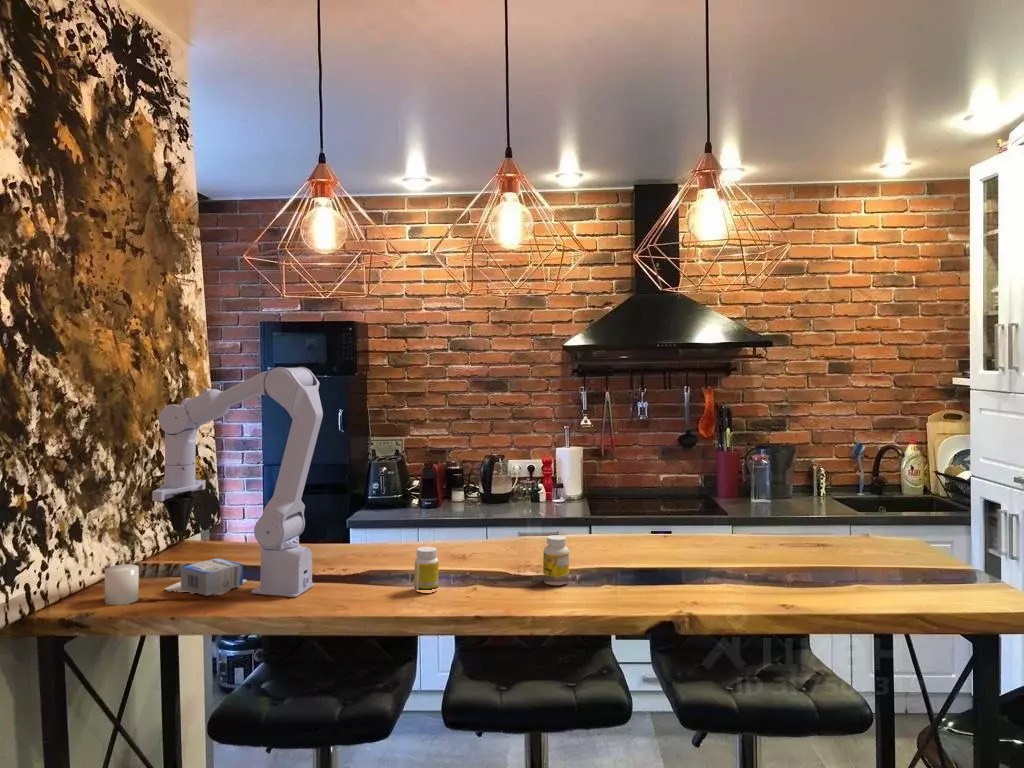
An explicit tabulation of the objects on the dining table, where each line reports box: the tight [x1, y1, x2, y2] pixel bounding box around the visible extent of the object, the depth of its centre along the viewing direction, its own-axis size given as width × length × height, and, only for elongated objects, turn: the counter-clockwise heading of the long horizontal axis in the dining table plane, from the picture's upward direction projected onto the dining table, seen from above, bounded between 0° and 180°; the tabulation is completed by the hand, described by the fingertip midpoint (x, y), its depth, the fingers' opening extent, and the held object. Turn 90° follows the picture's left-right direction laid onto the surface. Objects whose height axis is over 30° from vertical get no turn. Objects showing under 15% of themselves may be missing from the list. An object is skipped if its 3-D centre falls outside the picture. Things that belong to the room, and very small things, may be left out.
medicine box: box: [180, 557, 244, 597], centre depth 148 cm, size 8×4×9 cm
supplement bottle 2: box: [542, 534, 570, 577], centre depth 157 cm, size 5×5×10 cm
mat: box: [163, 578, 248, 596], centre depth 150 cm, size 12×10×1 cm
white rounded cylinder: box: [104, 563, 140, 606], centre depth 141 cm, size 6×6×6 cm
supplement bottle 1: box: [413, 546, 439, 590], centre depth 150 cm, size 5×5×8 cm
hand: (179, 530), depth 153 cm, fingers closed
